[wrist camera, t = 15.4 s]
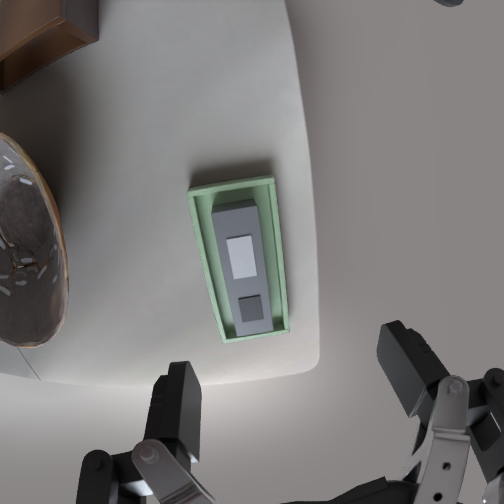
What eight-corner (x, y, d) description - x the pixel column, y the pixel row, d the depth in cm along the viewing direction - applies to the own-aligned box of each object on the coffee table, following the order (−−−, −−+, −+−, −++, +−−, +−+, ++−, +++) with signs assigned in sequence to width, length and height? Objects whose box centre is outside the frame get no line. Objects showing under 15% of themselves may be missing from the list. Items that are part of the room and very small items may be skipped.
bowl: (38, 326, 33) (10, 367, 24) (-39, 204, 23) (-79, 225, 14) (146, 252, 30) (118, 300, 21) (46, 84, 21) (-7, 77, 11)
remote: (212, 205, 28) (210, 213, 25) (254, 198, 28) (257, 205, 26) (235, 321, 34) (237, 337, 32) (270, 315, 35) (274, 331, 32)
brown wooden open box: (99, -14, 16) (68, -44, 8) (98, 40, 20) (59, 16, 11) (3, 41, 16) (-36, 33, 7) (1, 94, 19) (-44, 94, 11)
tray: (188, 187, 28) (186, 191, 26) (271, 174, 28) (274, 177, 26) (222, 333, 36) (222, 343, 34) (286, 322, 36) (289, 332, 34)
